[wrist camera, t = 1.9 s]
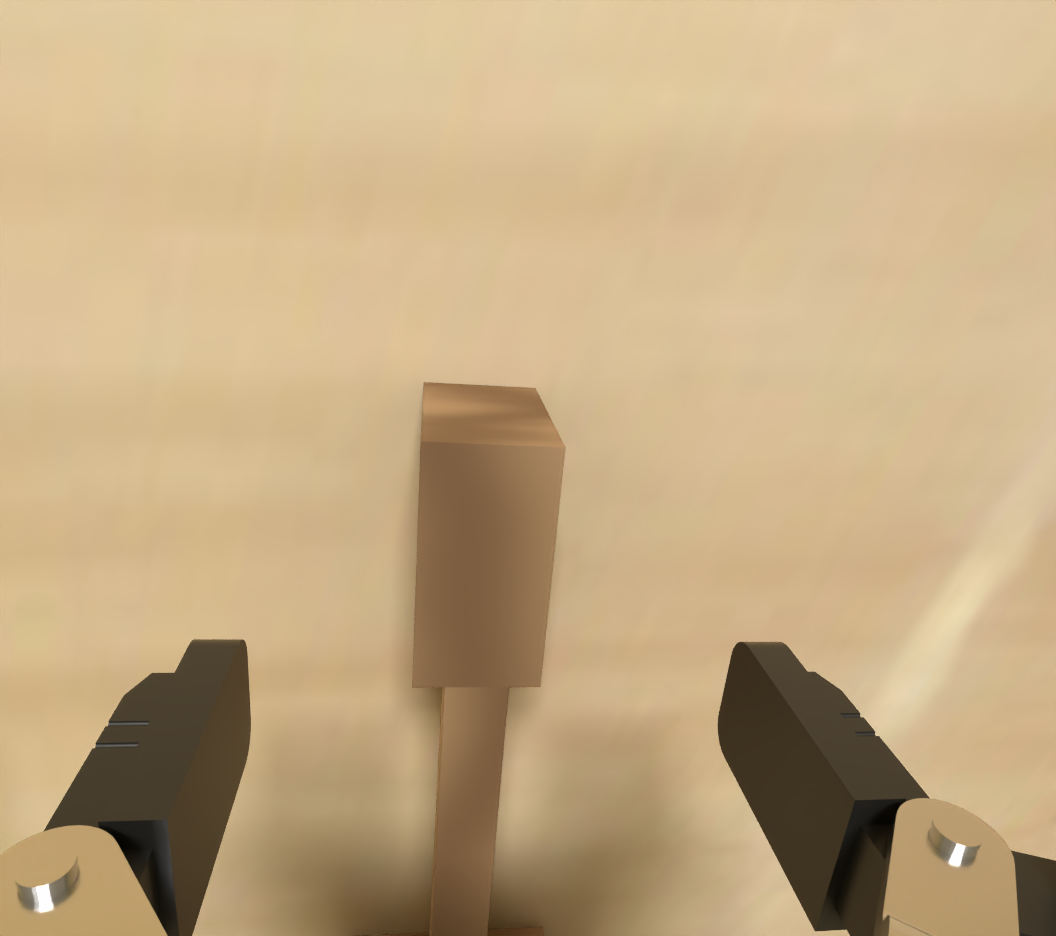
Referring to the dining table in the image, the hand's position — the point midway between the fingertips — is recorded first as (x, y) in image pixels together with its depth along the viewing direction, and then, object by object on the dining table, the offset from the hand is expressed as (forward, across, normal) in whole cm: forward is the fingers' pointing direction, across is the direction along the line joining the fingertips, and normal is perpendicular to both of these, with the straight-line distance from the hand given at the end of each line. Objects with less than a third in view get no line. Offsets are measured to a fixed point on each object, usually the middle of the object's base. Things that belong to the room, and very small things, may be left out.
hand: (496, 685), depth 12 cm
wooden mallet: (+9, 0, +8) cm, 12 cm away
